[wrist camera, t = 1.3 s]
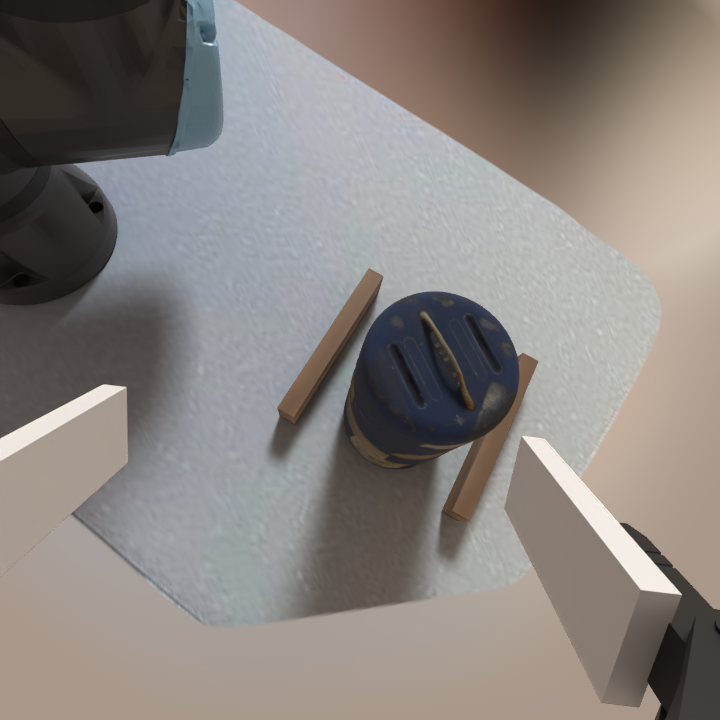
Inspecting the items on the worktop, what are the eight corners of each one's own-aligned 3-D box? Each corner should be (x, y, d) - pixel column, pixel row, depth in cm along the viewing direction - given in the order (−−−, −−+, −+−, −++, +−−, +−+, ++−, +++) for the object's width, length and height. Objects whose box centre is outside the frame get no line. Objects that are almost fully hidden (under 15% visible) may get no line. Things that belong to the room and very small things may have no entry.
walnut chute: (279, 415, 39) (277, 407, 37) (365, 283, 45) (368, 268, 42) (457, 520, 38) (469, 520, 35) (523, 371, 44) (538, 361, 41)
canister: (430, 364, 43) (509, 265, 26) (454, 462, 40) (560, 422, 23) (334, 377, 41) (351, 282, 24) (350, 480, 38) (383, 452, 21)
